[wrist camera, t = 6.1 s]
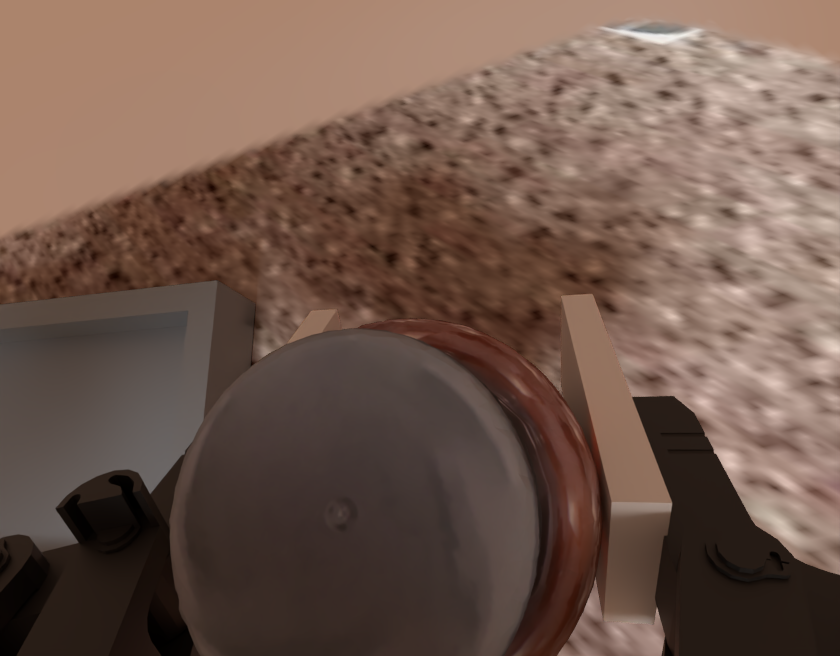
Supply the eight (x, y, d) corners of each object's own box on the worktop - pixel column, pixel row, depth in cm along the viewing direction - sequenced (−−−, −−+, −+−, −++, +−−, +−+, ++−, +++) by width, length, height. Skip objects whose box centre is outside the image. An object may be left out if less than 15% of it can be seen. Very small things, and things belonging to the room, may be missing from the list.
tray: (-123, 609, 19) (-217, 629, 16) (-51, 334, 22) (-120, 317, 19) (231, 621, 16) (180, 647, 13) (255, 303, 19) (217, 280, 17)
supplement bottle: (493, 356, 16) (440, 145, 6) (604, 519, 14) (842, 657, 4) (345, 451, 17) (25, 417, 6) (436, 627, 14) (199, 1059, 4)
